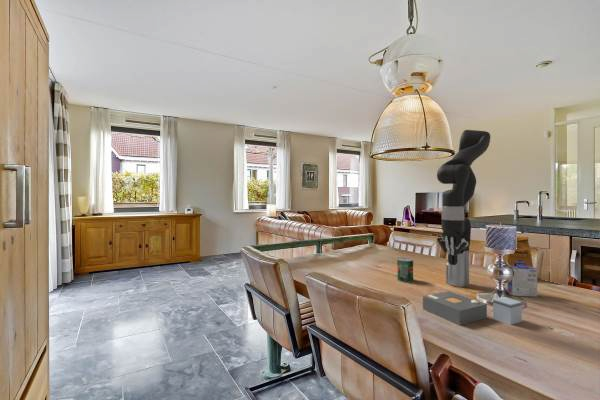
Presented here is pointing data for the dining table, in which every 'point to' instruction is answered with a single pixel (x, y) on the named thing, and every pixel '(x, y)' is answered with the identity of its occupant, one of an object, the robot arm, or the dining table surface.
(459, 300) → the breaker button
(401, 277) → the canned tomato
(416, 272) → the dining table surface
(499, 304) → the cap
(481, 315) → the box
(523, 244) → the coffee package
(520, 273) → the ink cartridge box
